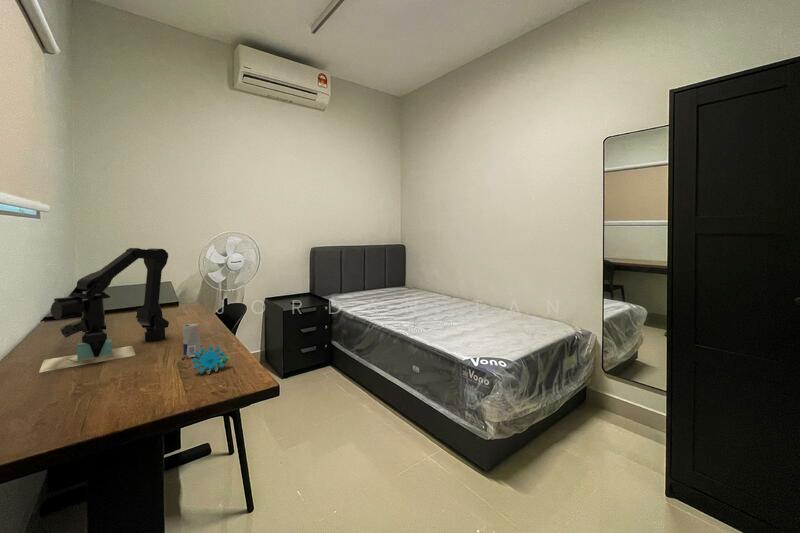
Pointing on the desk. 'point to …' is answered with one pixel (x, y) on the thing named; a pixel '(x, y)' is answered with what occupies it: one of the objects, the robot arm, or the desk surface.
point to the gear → (210, 359)
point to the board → (73, 361)
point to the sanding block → (86, 352)
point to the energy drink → (191, 339)
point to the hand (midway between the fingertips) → (96, 354)
